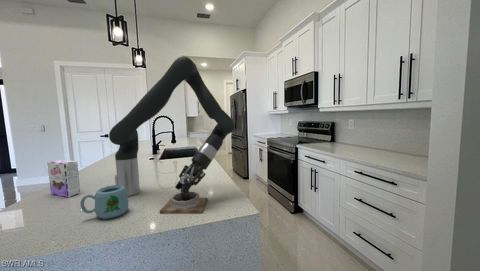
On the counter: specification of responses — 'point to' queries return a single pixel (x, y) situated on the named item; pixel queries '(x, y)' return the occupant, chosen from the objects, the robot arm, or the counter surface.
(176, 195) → the stand
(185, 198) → the grey post on base
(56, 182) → the candy box
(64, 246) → the counter surface
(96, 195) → the mug
